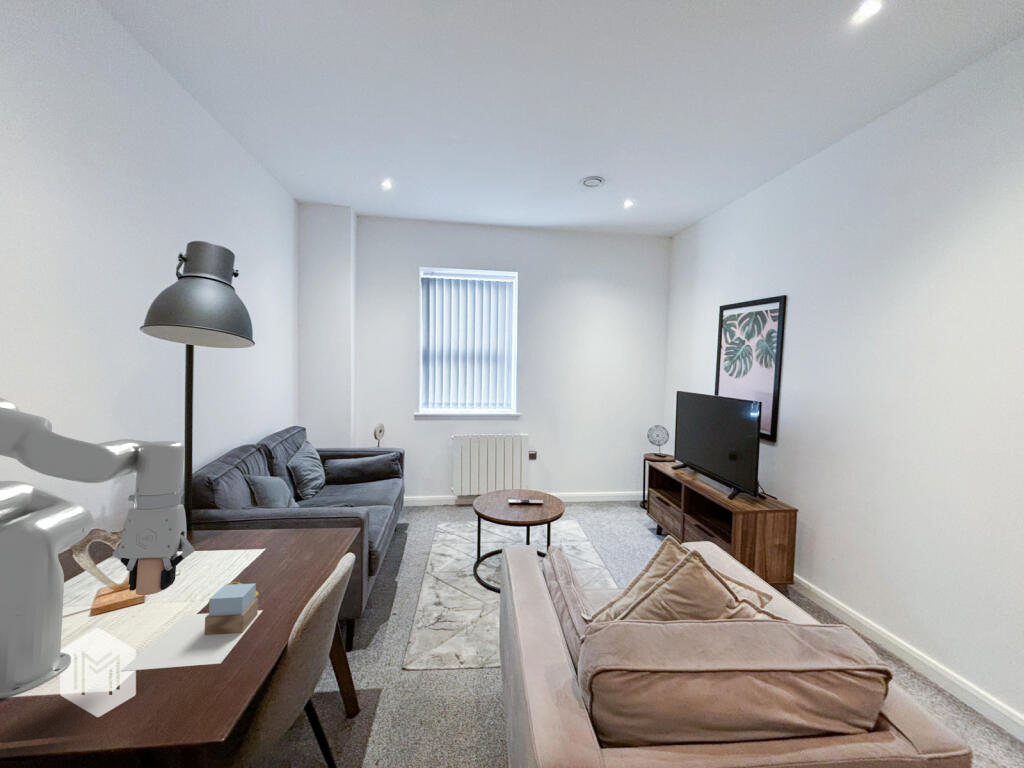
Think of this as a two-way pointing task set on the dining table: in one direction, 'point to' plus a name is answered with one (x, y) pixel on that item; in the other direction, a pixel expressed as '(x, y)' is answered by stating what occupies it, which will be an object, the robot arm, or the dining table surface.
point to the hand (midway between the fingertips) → (151, 586)
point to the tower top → (232, 599)
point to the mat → (186, 646)
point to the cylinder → (149, 575)
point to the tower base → (231, 621)
